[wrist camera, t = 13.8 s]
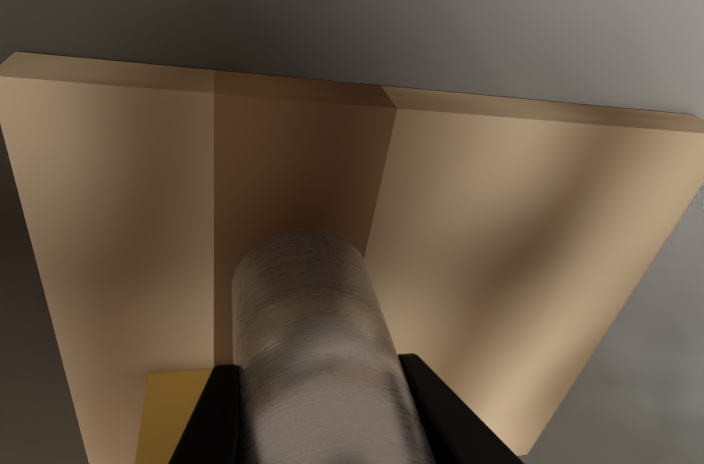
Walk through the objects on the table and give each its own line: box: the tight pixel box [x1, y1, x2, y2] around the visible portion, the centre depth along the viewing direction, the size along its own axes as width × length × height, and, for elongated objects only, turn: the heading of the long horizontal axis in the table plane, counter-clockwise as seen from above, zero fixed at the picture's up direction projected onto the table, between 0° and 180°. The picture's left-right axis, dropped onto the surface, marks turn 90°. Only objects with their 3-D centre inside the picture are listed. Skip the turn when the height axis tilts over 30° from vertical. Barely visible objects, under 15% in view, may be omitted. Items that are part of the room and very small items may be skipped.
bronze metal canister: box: [232, 230, 436, 464], centre depth 8 cm, size 3×3×8 cm
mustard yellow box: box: [135, 369, 212, 464], centre depth 15 cm, size 7×5×4 cm
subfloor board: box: [0, 52, 704, 464], centre depth 16 cm, size 18×16×2 cm
